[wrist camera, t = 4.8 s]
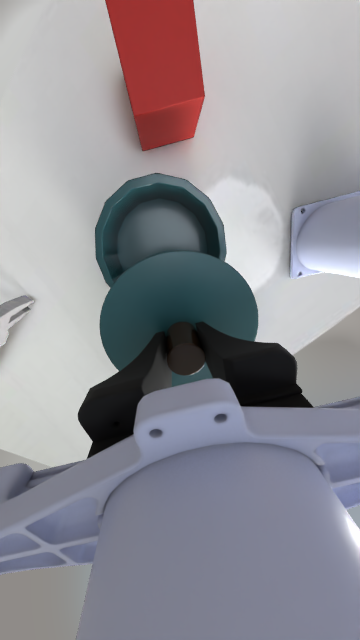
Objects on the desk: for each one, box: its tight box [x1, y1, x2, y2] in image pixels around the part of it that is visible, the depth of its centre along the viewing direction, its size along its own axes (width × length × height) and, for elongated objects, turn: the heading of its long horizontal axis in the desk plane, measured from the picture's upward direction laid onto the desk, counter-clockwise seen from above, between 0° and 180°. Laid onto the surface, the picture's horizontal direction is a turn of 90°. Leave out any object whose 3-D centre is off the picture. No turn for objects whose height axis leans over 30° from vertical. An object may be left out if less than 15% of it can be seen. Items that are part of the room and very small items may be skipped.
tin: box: [95, 173, 226, 288], centre depth 18 cm, size 11×11×6 cm
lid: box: [100, 250, 258, 387], centre depth 12 cm, size 12×12×4 cm
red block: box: [105, 0, 205, 151], centre depth 13 cm, size 5×5×5 cm
